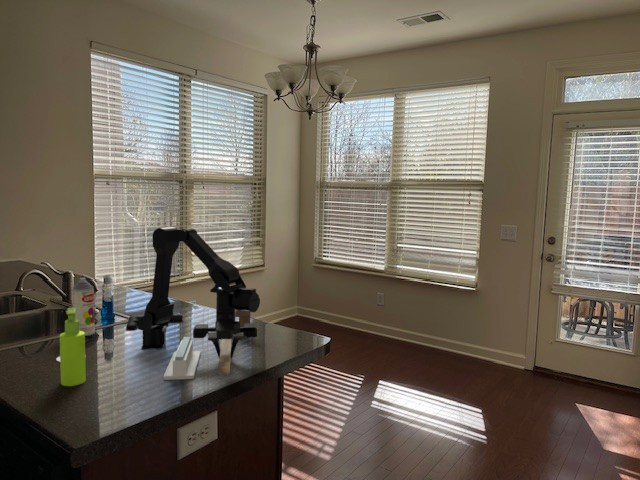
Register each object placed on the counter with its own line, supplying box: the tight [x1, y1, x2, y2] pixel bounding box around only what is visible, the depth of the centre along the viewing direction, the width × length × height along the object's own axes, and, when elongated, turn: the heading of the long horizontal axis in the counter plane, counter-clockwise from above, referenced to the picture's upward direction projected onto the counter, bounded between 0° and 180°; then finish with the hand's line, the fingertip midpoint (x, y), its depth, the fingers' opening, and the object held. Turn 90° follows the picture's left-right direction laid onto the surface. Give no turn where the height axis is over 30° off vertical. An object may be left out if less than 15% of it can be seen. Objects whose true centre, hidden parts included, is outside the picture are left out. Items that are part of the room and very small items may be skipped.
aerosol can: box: [71, 277, 96, 337], centre depth 166 cm, size 7×7×20 cm
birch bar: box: [218, 339, 232, 375], centre depth 145 cm, size 3×20×4 cm, turn 9°
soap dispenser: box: [59, 307, 87, 387], centre depth 125 cm, size 6×7×20 cm
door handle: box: [125, 313, 183, 332], centre depth 180 cm, size 3×20×16 cm
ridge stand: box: [162, 336, 202, 381], centre depth 140 cm, size 8×20×6 cm, turn 9°
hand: (225, 358), depth 145 cm, fingers closed on birch bar, 3 cm apart
